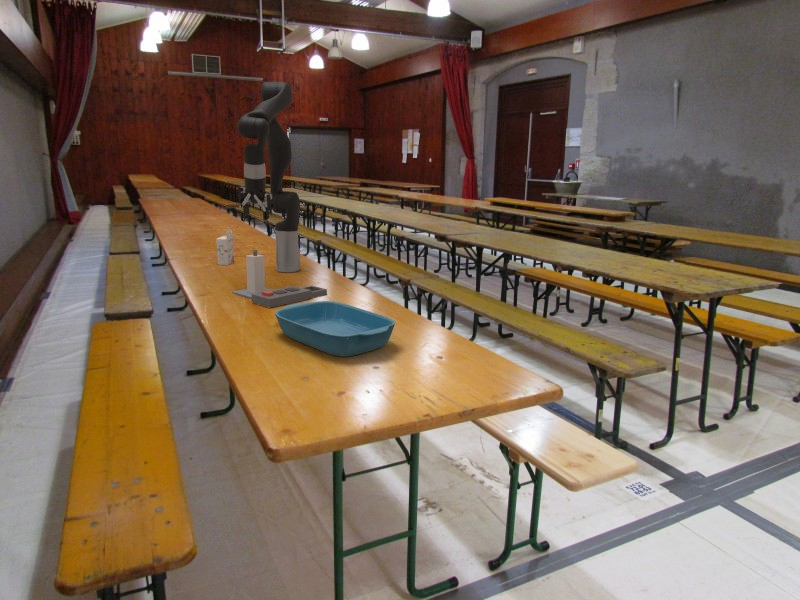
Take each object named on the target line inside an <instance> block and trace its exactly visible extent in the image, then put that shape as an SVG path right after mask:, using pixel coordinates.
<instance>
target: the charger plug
mask: <svg viewBox="0 0 800 600" xmlns="http://www.w3.org/2000/svg"><path fill="white" fill-rule="evenodd" d="M245 257H246V259H245V261H246V285H247V286H246V289H247V292H250V293H253V294H254V293H259V292H264V291H265V288H266V271H265V270H266V268H265V267H266V266H265V255H262V254H258V249H253V250H252V254H248V255H247V254H246V256H245Z"/></svg>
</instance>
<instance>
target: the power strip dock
mask: <svg viewBox="0 0 800 600" xmlns="http://www.w3.org/2000/svg"><path fill="white" fill-rule="evenodd" d="M326 294H327V295H328V288H325V287H324V288H323V287H320V286H315V285H306V286H303V287H300V286H296V285H291V286H286V287H282V288H281V287H279V288H275V289H271V290H270V291H264V292H259V293H254V294H252V299H251V303H252V302H253V303H252V304H254V303H256V304H255V305H257V304H259V306H261V305H262V306H261V307H264V306H265V308H267V307H269V308H268V309H272V308H271V307H273V308H276V306H277V307H280V305H282V306H285V305H284V304H286V305H290V304H294V303H293V302H295V303H298V302H297V301H299V302H303V301H302V300H304V301H308V300H311V299H313V297H314V298H319V297H322V296H326ZM318 296H319V297H318ZM307 299H308V300H307ZM289 303H290V304H289Z"/></svg>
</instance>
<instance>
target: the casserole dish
mask: <svg viewBox="0 0 800 600" xmlns="http://www.w3.org/2000/svg"><path fill="white" fill-rule="evenodd" d="M274 315H275V317H276V319H277V322H278V325H279V327H280V329H281V331H282V333H283V334H284V335H285V336H287V337H288V338H291V339H293V340H294V341H296V340H297V341H296V342H299V343H301V342H302V344H303V343H304V344H303V345H305V346H308V345H309V346H310V348H314V349H315V348H316V350H318V351H320V352H323V353H327V354H329V355H331V356H335V357H341V358H343V357H345V358H347V357H352V356H357V355H361V354H365V353H367V352H371V351H374V350H378V349H380V348H382V347H384V346H385V345H386V344H387V343H388V342H389V340H390V338H391V336H392V334H393V330H394V328H395V324H396V321H395V320H394V319H392V318H390V317H388V316H385V315H382V314H378V313H375V312H372V311H369V310H366V309H363V308H360V307H356V306H354V305H349V304H346V303H343V302H339V301H334V300H333V301H332V300H319V301H309V302H308V301H305V302H296V303H291V304H287V305H284V307H282V308H279V309H277V310H275V312H274ZM309 346H308V347H309Z"/></svg>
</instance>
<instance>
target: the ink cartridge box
mask: <svg viewBox="0 0 800 600" xmlns="http://www.w3.org/2000/svg"><path fill="white" fill-rule="evenodd" d="M215 241H216V255H217V257H216V258H217V265H218V266H230V265H231V264H232V262H233V263H234V262H235V256H234V253H235V251H234V233H233V230H232V229H230V230H227V231H226V232H225V235H222V236H219V237H217V238H216V239H215ZM229 264H230V265H229Z"/></svg>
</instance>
